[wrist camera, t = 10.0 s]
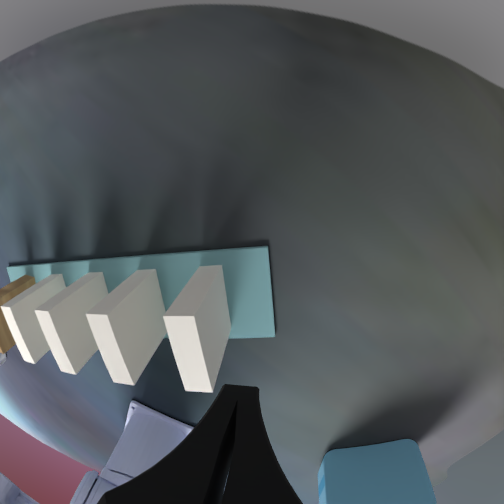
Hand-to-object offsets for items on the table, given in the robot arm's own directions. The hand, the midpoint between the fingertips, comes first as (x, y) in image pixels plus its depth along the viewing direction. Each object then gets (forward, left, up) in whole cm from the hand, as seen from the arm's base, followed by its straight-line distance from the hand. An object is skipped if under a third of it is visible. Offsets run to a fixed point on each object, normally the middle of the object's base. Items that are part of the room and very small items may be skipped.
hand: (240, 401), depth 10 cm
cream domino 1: (-9, +16, -10) cm, 21 cm away
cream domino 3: (-4, +7, -10) cm, 13 cm away
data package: (-15, -21, -11) cm, 28 cm away
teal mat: (-7, +11, -11) cm, 17 cm away
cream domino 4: (-2, +3, -10) cm, 11 cm away
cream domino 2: (-7, +11, -10) cm, 16 cm away
